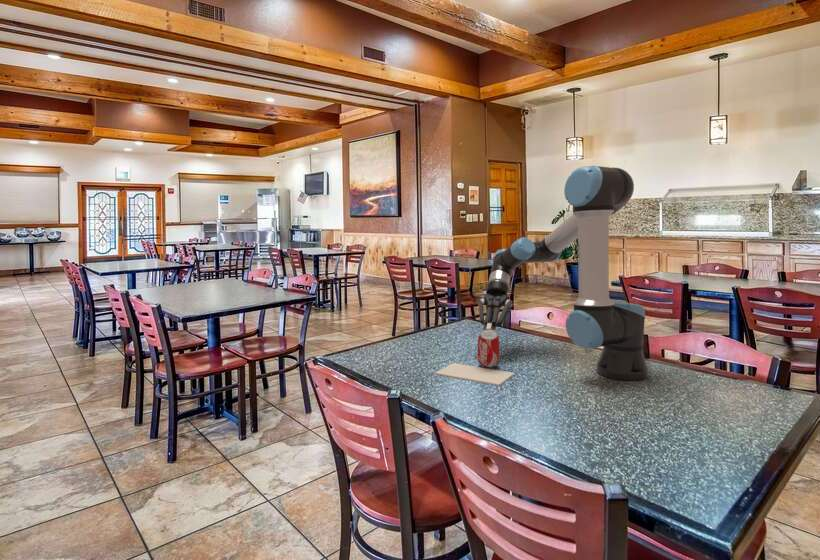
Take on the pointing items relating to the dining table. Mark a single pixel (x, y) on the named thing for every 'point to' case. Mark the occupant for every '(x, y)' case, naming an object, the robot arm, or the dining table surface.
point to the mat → (475, 374)
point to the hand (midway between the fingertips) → (486, 341)
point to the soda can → (488, 348)
